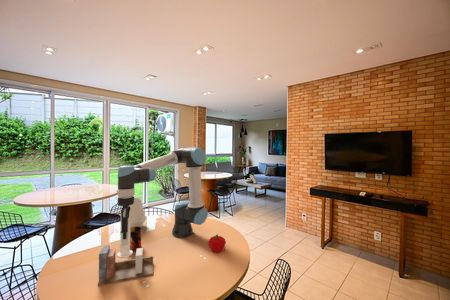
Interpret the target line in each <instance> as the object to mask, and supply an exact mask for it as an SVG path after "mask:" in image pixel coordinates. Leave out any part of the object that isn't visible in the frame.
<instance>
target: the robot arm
mask: <svg viewBox="0 0 450 300" xmlns="http://www.w3.org/2000/svg"><path fill="white" fill-rule="evenodd" d="M206 159H207V155H206V152H205V150H203V148H201V147H196V146H195V147H193V146H192V147H190V146H189V147H185V146H184V147H180V148H177V149H174V150H172V151H169V152H168V153H167V154H165V155H162V156H159V157H156V158H153V159H150V160H146V161H144V162H141V163H138V164H135V165H121V166H119V167H118V168H117V169H118V170H117V190H115V191H116V193H117V206H119V207H121V209H120V227H121V232H119V233H122V246H124V245H128V218H129V212H130V206H129V205H132V204H134V198H135V185H136V184H141V183H142V184H143V183H151V182H154V181H155V179H156V178H157V172H156V171H159V170H160V169H161V170H162V169H164V168H166V167H168V166H171V165H177V164H185V168H186V169H187V171H188V173H187V174H188V192H189V193H188V195H189V201H181V202H177V203H176V204H175V205H174V224H173V228H172V231H171V235H172V236H173V237H175V238H188V237H189V236H191V235H192V234H193V233H194V232H193V230H194V229H193V226H192V224H194V225H197V226H198V225H199V226H201V225H203V224H204V223H206V220H207V218H208V215H209V213H208V209H207V208H206V207H205V203H204V202H203V201H202V200H203V197H202V196H203V195H202V174H201V173H202V171H201V170H202V169H203V165H204V164H205V162H206ZM127 215H128V216H127ZM130 227H131V226H130Z"/></svg>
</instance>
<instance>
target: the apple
mask: <svg viewBox="0 0 450 300" xmlns="http://www.w3.org/2000/svg"><path fill="white" fill-rule="evenodd" d="M207 245H208V248H209V250H211V252H213V253H215V252H216V253H217V254H218V253H221V252H223V251H224V249H225V246H226V238H224V237H223V236H221V235H219V234H216V235H214V236H211V237H210V238H209V240H208V243H207Z"/></svg>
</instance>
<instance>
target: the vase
mask: <svg viewBox="0 0 450 300" xmlns="http://www.w3.org/2000/svg"><path fill="white" fill-rule="evenodd" d="M129 206H130V210H131V224H130V226H131V227H136V226H137V227H141V228H142V227H143V225H144V223H145V222H146V219H147V217H146V214H145V211H144V206H143V203H142V200H141V197H134V204H132V205H129Z"/></svg>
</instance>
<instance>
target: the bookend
mask: <svg viewBox="0 0 450 300" xmlns="http://www.w3.org/2000/svg"><path fill="white" fill-rule="evenodd" d="M143 258H144V248H143V247H141V248H138V249H137V250H136V251H135V259H136V266H135V274H138V273H142V266H143Z"/></svg>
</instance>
